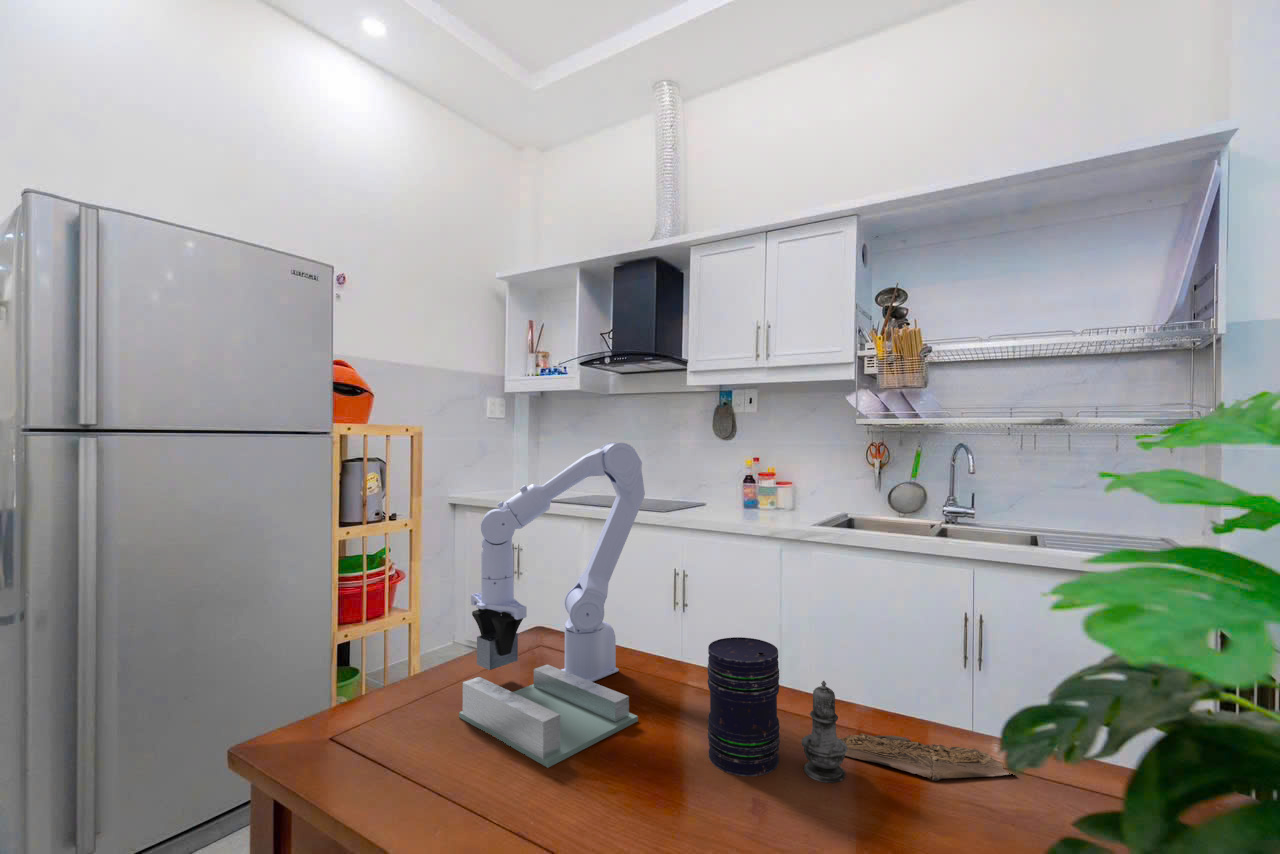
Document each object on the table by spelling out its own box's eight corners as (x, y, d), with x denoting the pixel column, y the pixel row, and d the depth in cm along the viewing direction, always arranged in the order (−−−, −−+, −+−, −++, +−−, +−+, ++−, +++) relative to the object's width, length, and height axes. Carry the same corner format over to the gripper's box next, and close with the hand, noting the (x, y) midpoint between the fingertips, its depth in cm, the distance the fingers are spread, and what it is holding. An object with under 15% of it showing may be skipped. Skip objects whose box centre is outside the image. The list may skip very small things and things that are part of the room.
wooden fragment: (1006, 757, 84) (1005, 749, 84) (1026, 801, 74) (1026, 792, 74) (814, 728, 93) (814, 721, 93) (808, 763, 83) (808, 756, 83)
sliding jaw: (547, 681, 108) (547, 664, 108) (628, 715, 95) (628, 696, 95) (533, 686, 106) (533, 669, 106) (615, 722, 92) (615, 702, 92)
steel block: (504, 655, 113) (504, 628, 113) (517, 660, 110) (517, 633, 111) (476, 664, 109) (476, 636, 109) (489, 670, 106) (489, 641, 106)
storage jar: (693, 757, 84) (693, 649, 84) (733, 732, 91) (733, 632, 91) (755, 785, 77) (754, 667, 77) (793, 756, 84) (792, 648, 84)
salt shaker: (824, 789, 76) (823, 693, 77) (792, 766, 82) (791, 676, 82) (857, 776, 79) (856, 684, 79) (824, 755, 84) (824, 669, 84)
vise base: (547, 683, 109) (547, 650, 109) (637, 721, 95) (637, 683, 95) (459, 717, 96) (459, 680, 96) (547, 767, 81) (547, 724, 81)
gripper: (456, 573, 112) (456, 647, 112) (502, 586, 102) (502, 667, 102) (489, 567, 117) (489, 638, 117) (536, 579, 107) (536, 656, 107)
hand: (497, 651), depth 110 cm, fingers closed on steel block, 4 cm apart
